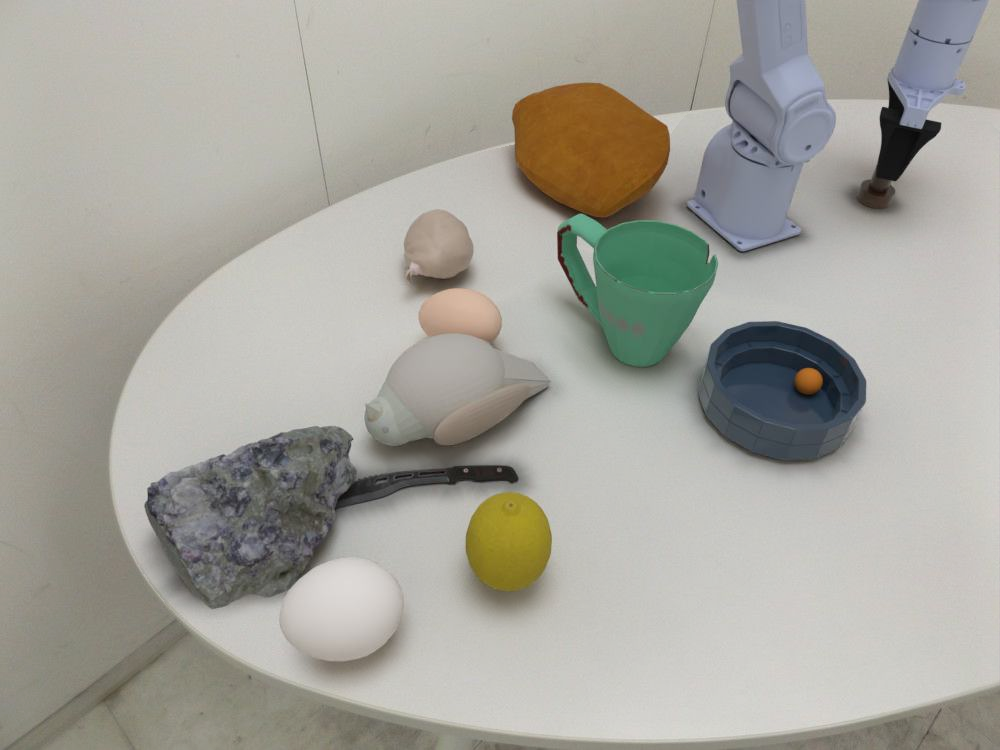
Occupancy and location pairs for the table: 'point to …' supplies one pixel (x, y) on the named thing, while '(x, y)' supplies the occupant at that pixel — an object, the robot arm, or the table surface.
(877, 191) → the coffee tamper
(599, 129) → the bread
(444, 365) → the decorative bird
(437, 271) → the garlic bulb
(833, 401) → the bowl
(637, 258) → the mug
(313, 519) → the mineral rock
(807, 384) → the ball
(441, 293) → the egg
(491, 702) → the table surface
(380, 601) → the egg
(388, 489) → the knife
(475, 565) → the lemon
